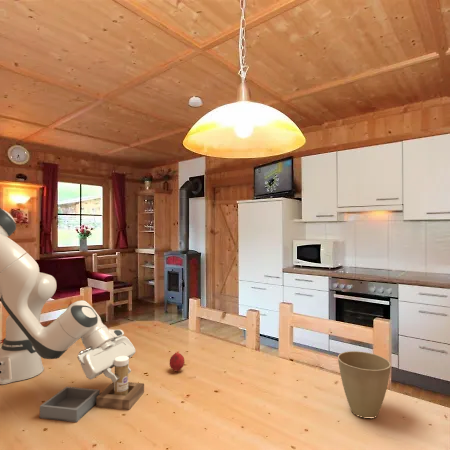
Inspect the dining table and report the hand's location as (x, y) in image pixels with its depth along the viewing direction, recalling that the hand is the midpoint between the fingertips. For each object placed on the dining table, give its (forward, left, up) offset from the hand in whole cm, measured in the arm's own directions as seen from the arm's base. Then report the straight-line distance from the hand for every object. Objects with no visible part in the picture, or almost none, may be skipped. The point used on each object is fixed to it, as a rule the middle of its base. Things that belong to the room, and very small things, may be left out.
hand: (122, 376), depth 106 cm
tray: (-13, -8, -7) cm, 17 cm away
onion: (+11, +23, -8) cm, 27 cm away
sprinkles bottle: (-1, 0, -8) cm, 8 cm away
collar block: (-1, 0, -7) cm, 7 cm away
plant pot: (+76, +6, -8) cm, 77 cm away
